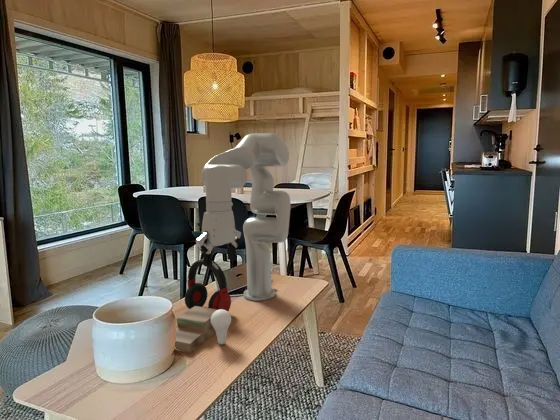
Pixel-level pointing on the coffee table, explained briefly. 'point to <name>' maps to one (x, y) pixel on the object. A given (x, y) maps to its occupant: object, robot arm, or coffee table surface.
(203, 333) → the stand
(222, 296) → the headphones
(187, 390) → the coffee table surface
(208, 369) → the coffee table surface
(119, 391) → the coffee table surface
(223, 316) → the lightbulb
